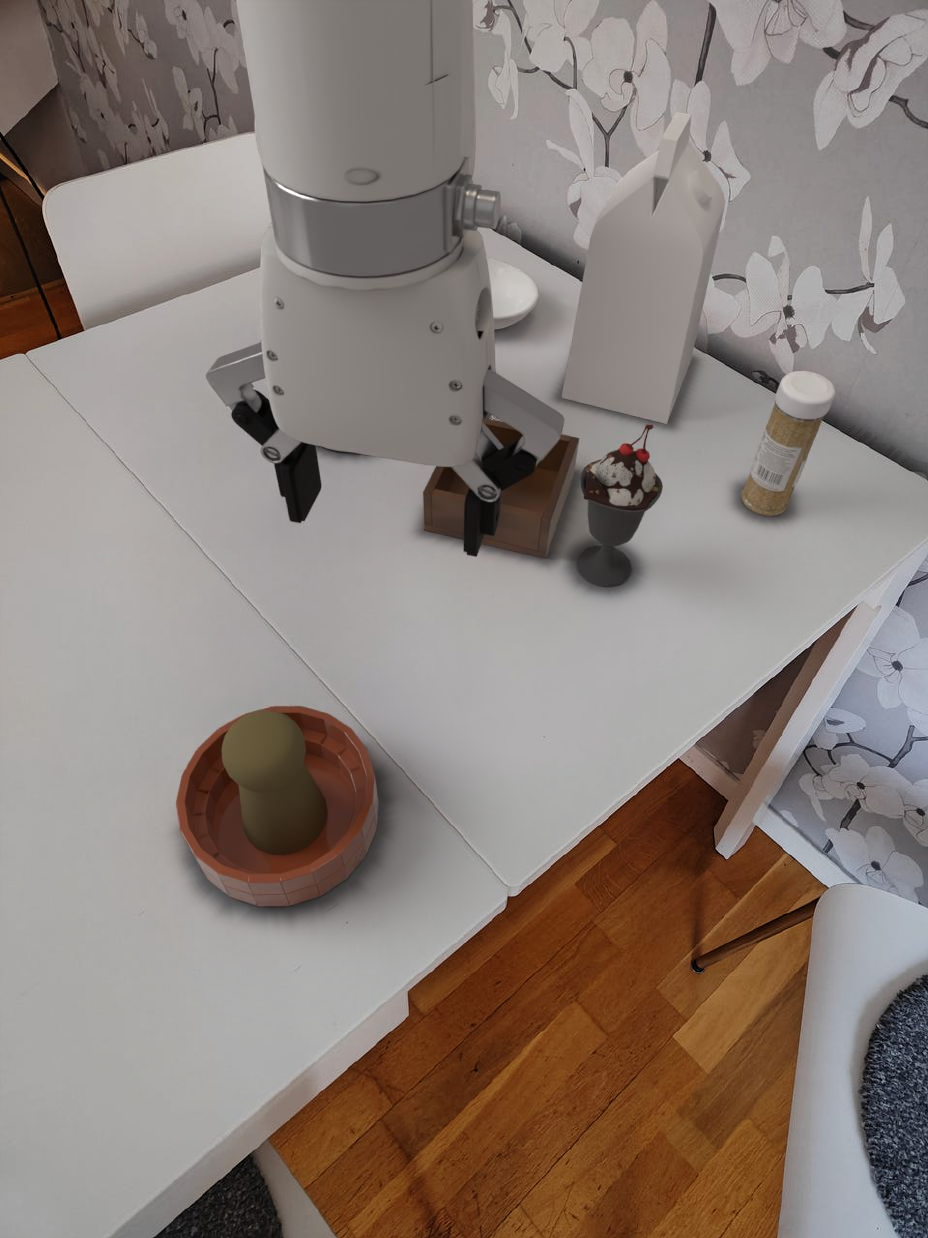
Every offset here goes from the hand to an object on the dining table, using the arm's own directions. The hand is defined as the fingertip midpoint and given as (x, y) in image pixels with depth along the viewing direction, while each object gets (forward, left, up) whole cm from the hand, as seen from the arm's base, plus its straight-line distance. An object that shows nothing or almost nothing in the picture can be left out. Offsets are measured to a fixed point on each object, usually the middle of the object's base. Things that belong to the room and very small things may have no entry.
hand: (390, 521), depth 47 cm
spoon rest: (-16, +58, -25) cm, 65 cm away
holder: (0, +28, -24) cm, 37 cm away
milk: (+8, +51, -25) cm, 57 cm away
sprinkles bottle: (+24, +36, -25) cm, 50 cm away
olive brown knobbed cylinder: (-6, -8, -24) cm, 26 cm away
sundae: (+11, +23, -25) cm, 35 cm away
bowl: (-6, -8, -24) cm, 26 cm away
